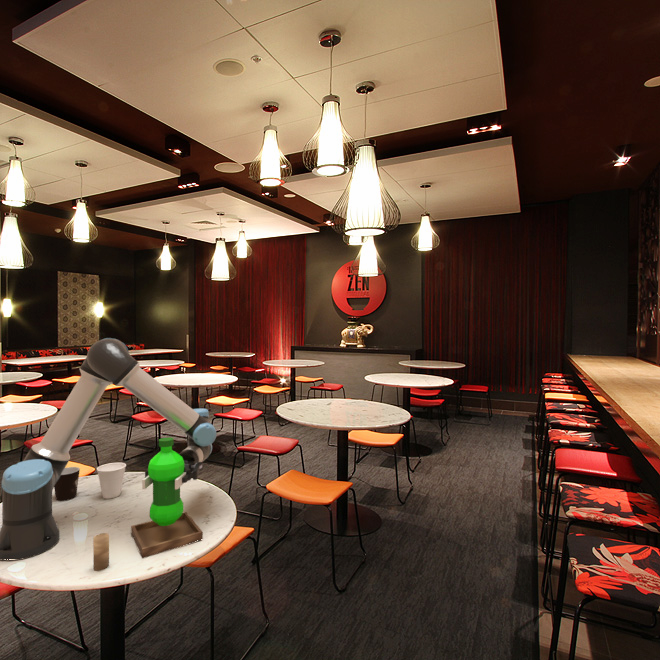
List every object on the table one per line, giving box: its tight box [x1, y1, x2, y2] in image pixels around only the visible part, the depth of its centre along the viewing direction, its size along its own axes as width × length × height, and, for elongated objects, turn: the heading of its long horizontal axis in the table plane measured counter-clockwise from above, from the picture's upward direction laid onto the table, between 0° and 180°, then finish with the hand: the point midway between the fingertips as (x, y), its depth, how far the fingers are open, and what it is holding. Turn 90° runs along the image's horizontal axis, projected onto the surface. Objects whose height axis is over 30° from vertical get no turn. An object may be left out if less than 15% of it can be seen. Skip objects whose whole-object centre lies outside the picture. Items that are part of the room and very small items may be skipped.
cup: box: [96, 462, 127, 500], centre depth 155 cm, size 10×10×11 cm
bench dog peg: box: [92, 532, 110, 572], centre depth 108 cm, size 4×4×8 cm
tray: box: [130, 511, 204, 559], centre depth 124 cm, size 17×17×2 cm
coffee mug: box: [53, 466, 81, 502], centre depth 154 cm, size 12×9×10 cm
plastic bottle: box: [147, 436, 184, 526], centre depth 124 cm, size 10×10×25 cm
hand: (159, 484), depth 119 cm, fingers closed on plastic bottle, 9 cm apart
